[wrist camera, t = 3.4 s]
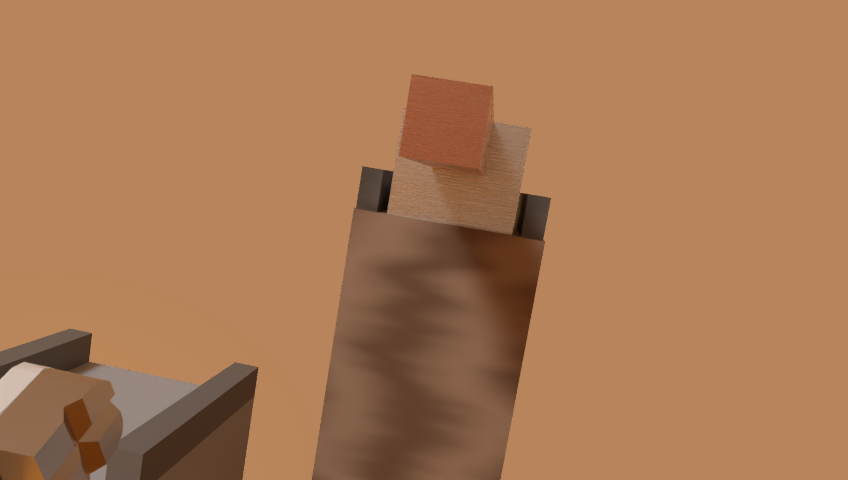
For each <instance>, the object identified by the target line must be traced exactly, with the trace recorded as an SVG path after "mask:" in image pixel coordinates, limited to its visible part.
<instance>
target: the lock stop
mask: <svg viewBox="0 0 848 480" xmlns="http://www.w3.org/2000/svg"><path fill="white" fill-rule="evenodd" d="M530 133H531V128H528V127H521V126H515V125H508V124H502V123H495V122H494V112H493V87H492V86H486V85H479V84H472V83H466V82H459V81H453V80H446V79H439V78H433V77H426V76H420V75H412V76H411V83H410V89H409V95H408V101H407V108H404V111H403V116H402V122H401V129H400V135H399V141H398V148H397V154H396V160H395V166H394V172H393V178H392V185H391V191H390V197H389V203H388V209H387V213H388V214H394V215H400V216H405V217H411V218H417V219H423V220H428V221H434V222H440V223H445V224H451V225H457V226H463V227H468V228H474V229H480V230H486V231H491V232H497V233H503V234H508V235H512V232H513V227H514V221H515V216H516V210H517V205H518V200H519V194H520V188H521V183H522V178H523V172H524V167H525V161H526V156H527V150H528V145H529V139H530Z"/></svg>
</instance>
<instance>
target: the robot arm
mask: <svg viewBox="0 0 848 480" xmlns="http://www.w3.org/2000/svg"><path fill="white" fill-rule="evenodd" d="M114 395H115V392H114V390H113V387H112V385H111V382H110V381H107V380H103V379H98V378H94V377H89V376H85V375H80V374H76V373H72V372H67V371H63V370H58V369H54V368H51V367H46V366H41V365H36V364H32V363H27V362H23V363H20V364H18V365H16V366H14V367H12V368H11V369H10V370H9V371H8V372H7V373H6V374H5V375H4V376H3V377H2V378H1V379H0V480H90V474H91V473H92V472H94V471H96V470H98V469H99V468H101V467H103V466H104V465H106V464H107V463H108V461H109V460H110V458H111V457H112V455H113V454H114V452H115V451H116V449H117V447H118V444H119V441H120V438H121V436H122V433H123V418H122V415H121V411H120V410H119V409H118V408H117V407H116V406H115V405H114V404H113V403H112V402H111V401H110V400H111V399H112V397H113V396H114Z"/></svg>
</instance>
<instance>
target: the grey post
mask: <svg viewBox="0 0 848 480" xmlns="http://www.w3.org/2000/svg"><path fill="white" fill-rule="evenodd" d="M91 338H92V333H88V332H83V331H78V330H74V329H68V330H65V331H62V332H59V333H56V334H53V335H50V336H47V337H44V338H41V339H38V340H35V341H31V342H29V343H25V344H22V345H19V346H16V347H13V348H10V349H8V350H4V351H1V352H0V379H1V378H2V377H3V376H4V375H5V374H6V373H7V372H8V371H9V370H10V369H11V368H12V367H14V366H16V365H18V364H20V363H23V362H27V363H32V364H36V365H41V366H46V367H51V368H54V369H58V370H63V371H67V372H72V373H76V374H80V375H85V376H89V377H94V378H98V379H103V380H107V381H110V382H111V385H112V387H113V390H114V392H115V395H114V396H113V397H112V399H111V400H110V401H111V402H112V403H113V404H114V405H115V406H116V407H117V408H118V409H119V410H120V411H121V415H122V418H123V433H122V436H121V438H120V441H119V444H118V447H117V449H116V451H115V452H114V454H113V455H112V457H111V458H110V460H109V461H108V463H107V464H106V465H104V466H103V467H101V468H99V469H98V470H96V471H94V472H92V473H91V474H90V480H242V478H243V471H244V464H245V457H246V449H247V443H248V436H249V429H250V422H251V415H252V408H253V401H254V394H255V387H256V380H257V373H258V367H255V366H250V365H245V364H240V363H234V364H232V365H231V366H229V367H228V368H226V369H225V370H223V371H222V372H220V373H219V374H218V375H216V376H214V377H213V378H211V379H210V380H208V381H207V382H205V383H204V384H202V385H197V384H192V383H187V382H183V381H177V380H173V379H168V378H163V377H158V376H154V375H149V374H144V373H140V372H135V371H130V370H125V369H120V368H115V367H111V366H106V365H101V364H97V363H92V362H89V355H90V346H91Z"/></svg>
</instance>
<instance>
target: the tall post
mask: <svg viewBox="0 0 848 480" xmlns="http://www.w3.org/2000/svg"><path fill="white" fill-rule="evenodd" d="M392 178H393V171H387V170H380V169H375V168H368V167H362V174H361V181H360V187H359V193H358V200H357V206H356V208H354V212H353V218H352V224H351V231H350V237H349V244H348V250H347V257H346V263H345V270H344V276H343V283H342V289H341V295H340V302H339V308H338V315H337V321H336V328H335V335H334V341H333V347H332V353H331V360H330V366H329V373H328V379H327V386H326V392H325V399H324V405H323V411H322V418H321V424H320V431H319V437H318V444H317V451H316V457H315V464H314V470H313V476H312V480H500V479H501V473H502V468H503V462H504V457H505V452H506V447H507V441H508V436H509V431H510V425H511V420H512V415H513V409H514V403H515V399H516V393H517V387H518V383H519V377H520V372H521V367H522V361H523V356H524V350H525V345H526V340H527V335H528V329H529V324H530V319H531V313H532V308H533V303H534V297H535V292H536V287H537V281H538V276H539V271H540V265H541V260H542V255H543V249H544V244H545V241H544V240H543V237H544V232H545V226H546V221H547V216H548V210H549V205H550V200H551V198H547V197H542V196H536V195H530V194H523V193H520V196H519V201H518V207H517V212H516V218H515V223H514V227H513V232H512V235H508V234H503V233H497V232H491V231H486V230H480V229H474V228H468V227H463V226H457V225H451V224H445V223H440V222H434V221H428V220H423V219H417V218H411V217H405V216H400V215H394V214H388V213H387V209H388V203H389V197H390V191H391V185H392Z"/></svg>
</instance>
